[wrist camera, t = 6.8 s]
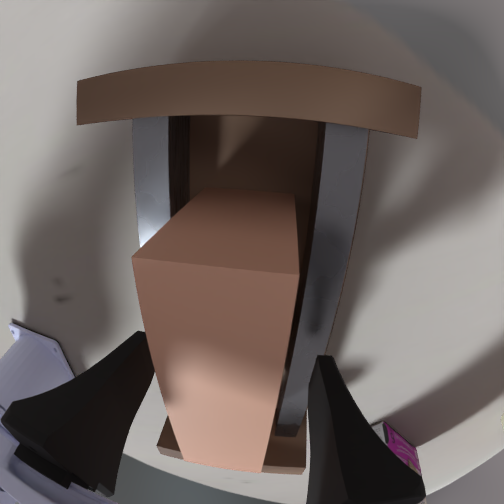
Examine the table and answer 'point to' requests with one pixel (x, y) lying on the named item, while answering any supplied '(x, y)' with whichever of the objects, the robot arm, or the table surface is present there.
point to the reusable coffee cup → (502, 421)
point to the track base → (260, 177)
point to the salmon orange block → (221, 319)
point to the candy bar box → (399, 447)
